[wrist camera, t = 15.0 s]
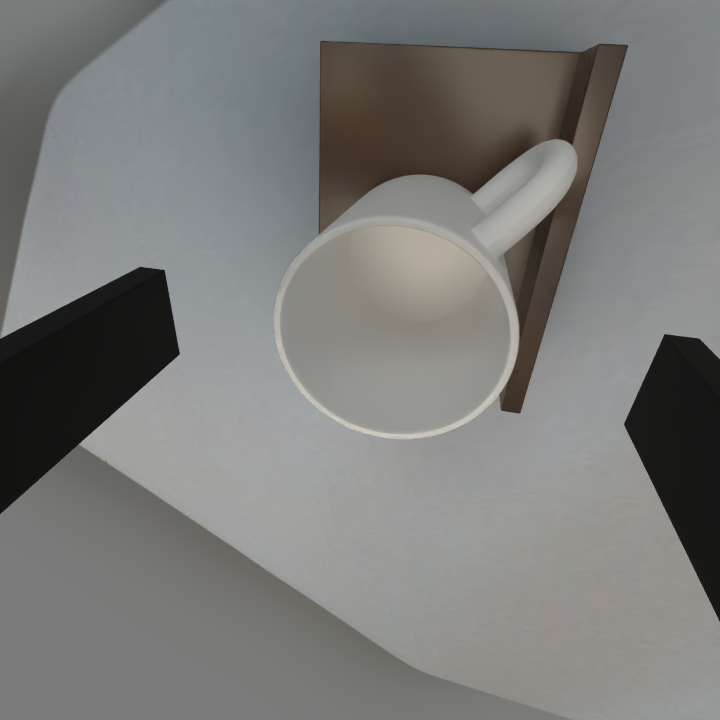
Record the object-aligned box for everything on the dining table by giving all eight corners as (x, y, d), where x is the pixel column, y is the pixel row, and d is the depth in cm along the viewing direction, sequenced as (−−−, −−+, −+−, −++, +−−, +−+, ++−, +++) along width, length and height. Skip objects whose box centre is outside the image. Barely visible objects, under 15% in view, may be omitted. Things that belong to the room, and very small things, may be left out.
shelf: (346, 51, 24) (298, 31, 17) (580, 62, 22) (628, 44, 16) (337, 320, 32) (302, 378, 25) (508, 344, 30) (520, 414, 24)
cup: (312, 253, 25) (228, 332, 16) (486, 60, 19) (500, 23, 10) (415, 353, 26) (389, 473, 18) (603, 204, 21) (701, 276, 12)
